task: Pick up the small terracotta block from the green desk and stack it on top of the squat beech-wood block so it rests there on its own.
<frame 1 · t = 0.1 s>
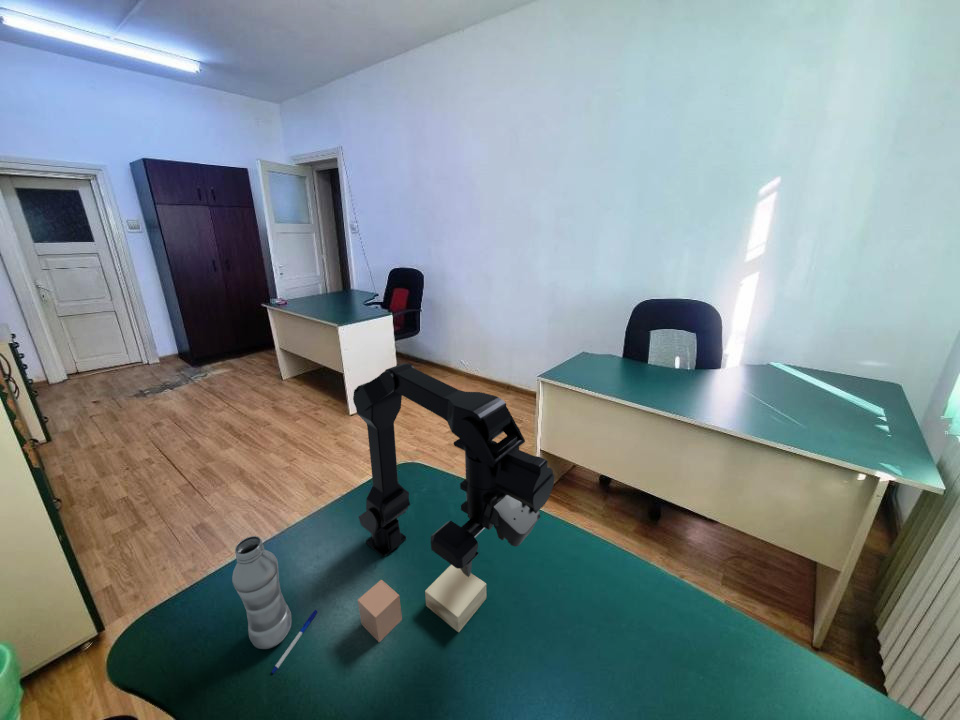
hand: (485, 555, 62), 15 cm above the table, tool pointing down, fingers open, 9 cm apart
plastic bottle: (273, 635, 64), on the table
ballpoint pen: (296, 641, 64), on the table
beech block: (456, 603, 70), on the table
terracotta block: (382, 622, 66), on the table
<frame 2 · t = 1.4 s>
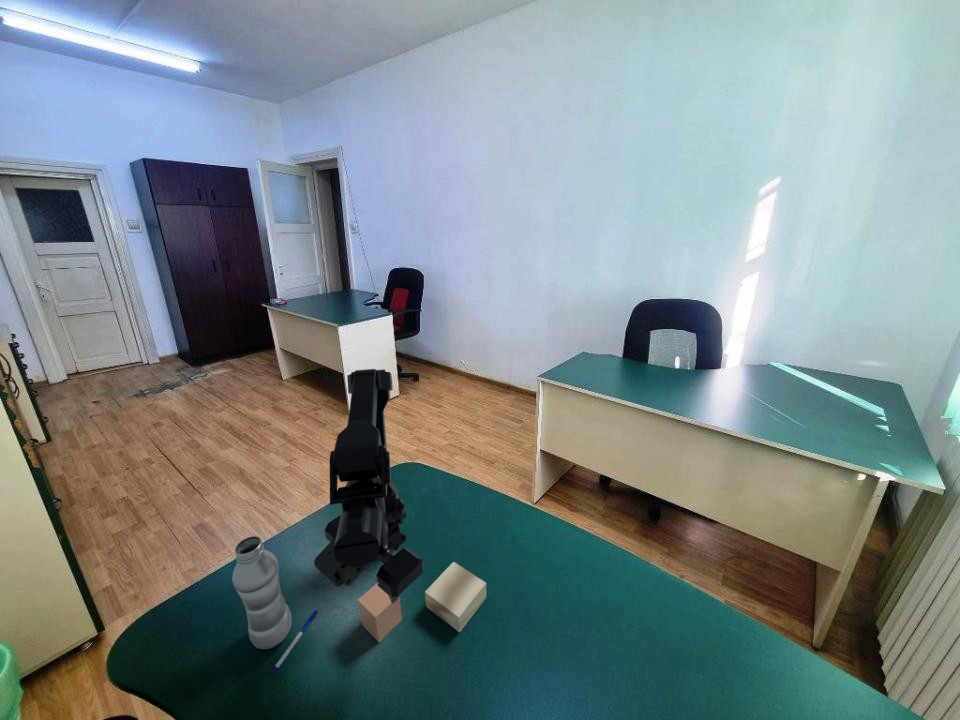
hand: (377, 585, 64), 9 cm above the table, tool pointing down, fingers open, 9 cm apart
nothing on the table moved.
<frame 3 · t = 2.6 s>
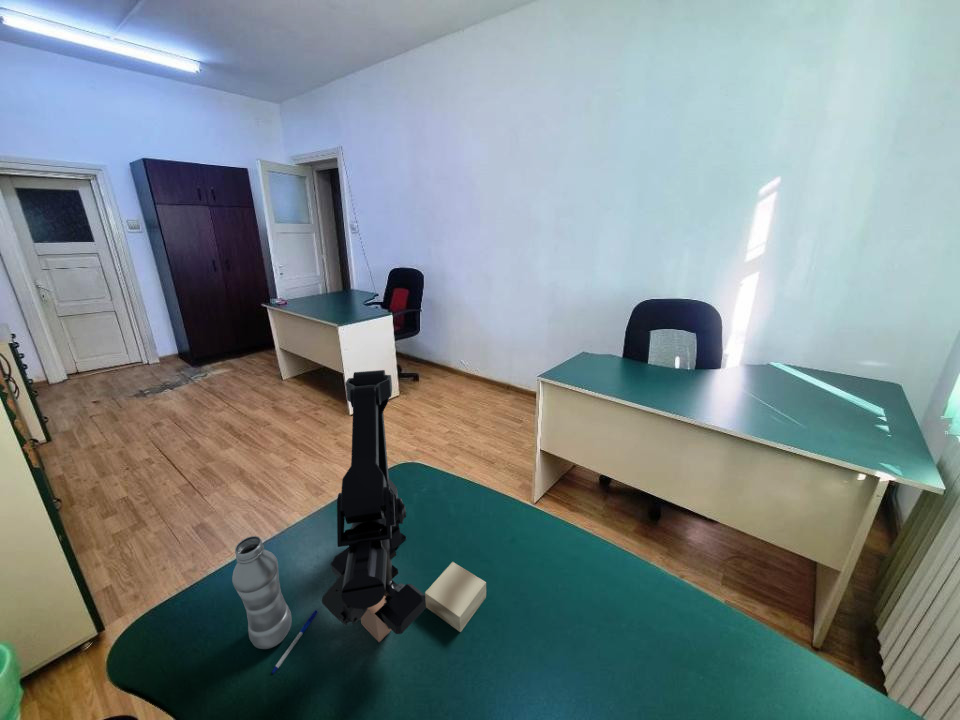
hand: (381, 617, 66), 1 cm above the table, tool pointing down, fingers closed on terracotta block, 5 cm apart
terracotta block: (381, 621, 66), on the table, touching gripper
everything else where it was.
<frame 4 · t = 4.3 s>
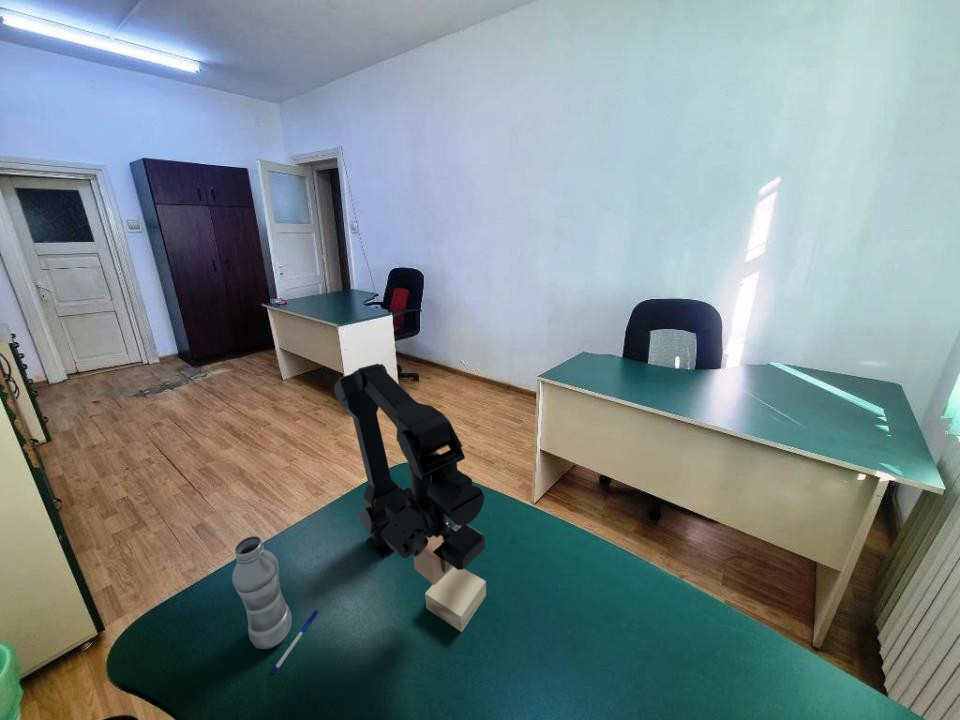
hand: (435, 562, 65), 11 cm above the table, tool pointing down, fingers closed on terracotta block, 5 cm apart
terracotta block: (434, 567, 65), point 10 cm above the table, touching gripper
everything else where it was.
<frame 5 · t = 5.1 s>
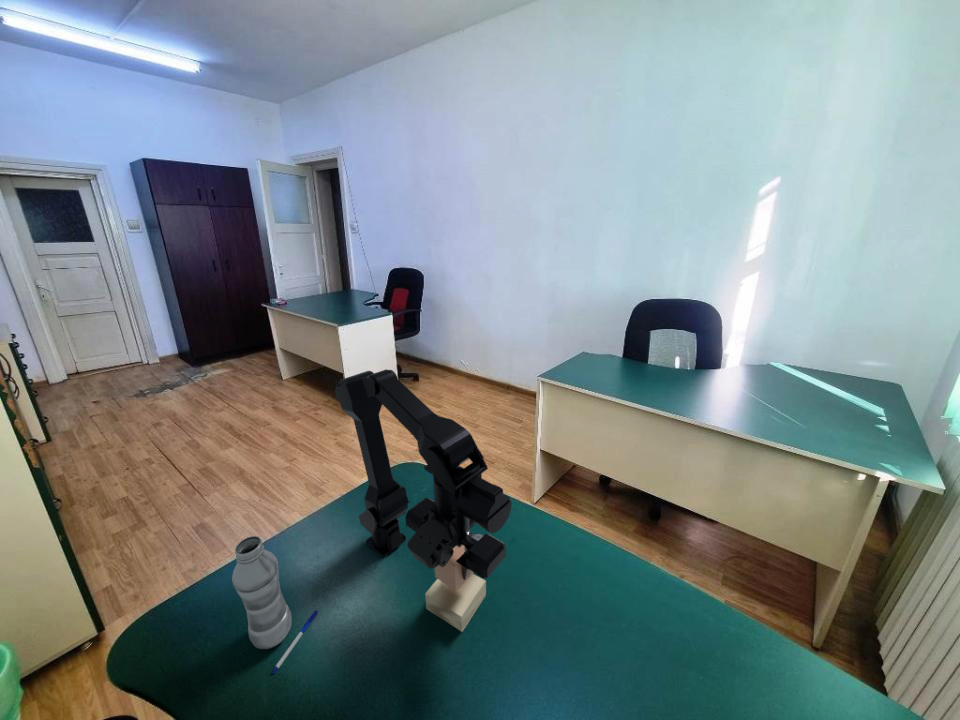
hand: (454, 569, 67), 8 cm above the table, tool pointing down, fingers closed on terracotta block, 5 cm apart
terracotta block: (454, 574, 67), point 7 cm above the table, touching gripper
everything else where it was.
when the fingers open (6 cm above the table, at t = 5.8 s): terracotta block drops 2 cm, resting on beech block.
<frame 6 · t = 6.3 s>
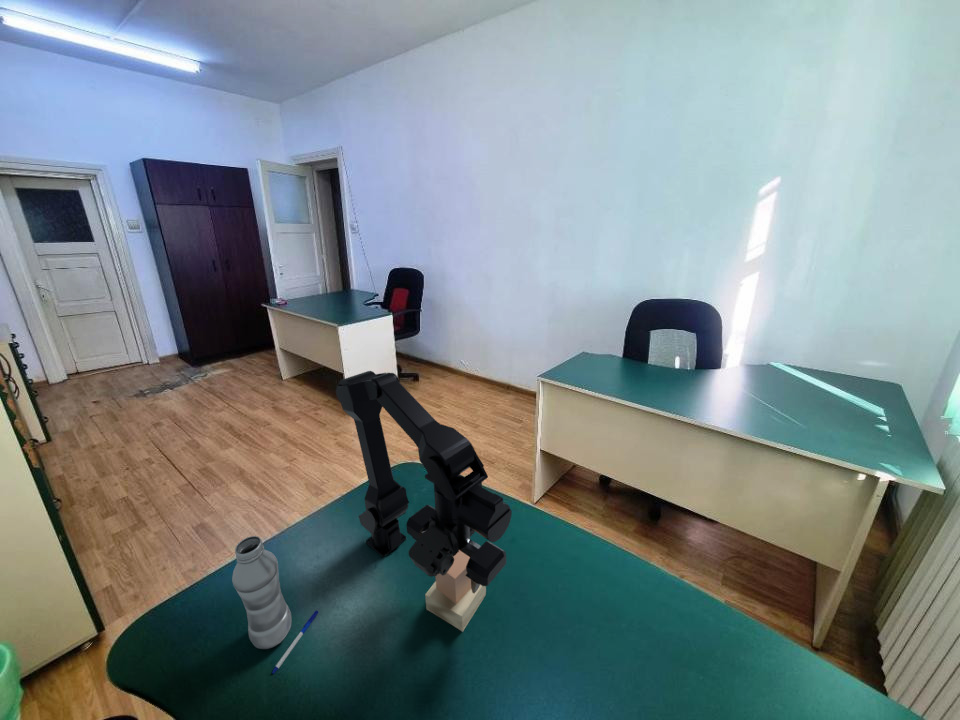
hand: (455, 576, 68), 6 cm above the table, tool pointing down, fingers open, 9 cm apart
beech block: (456, 603, 70), on the table, touching terracotta block
terracotta block: (455, 586, 69), point 4 cm above the table, touching beech block
everything else where it was.
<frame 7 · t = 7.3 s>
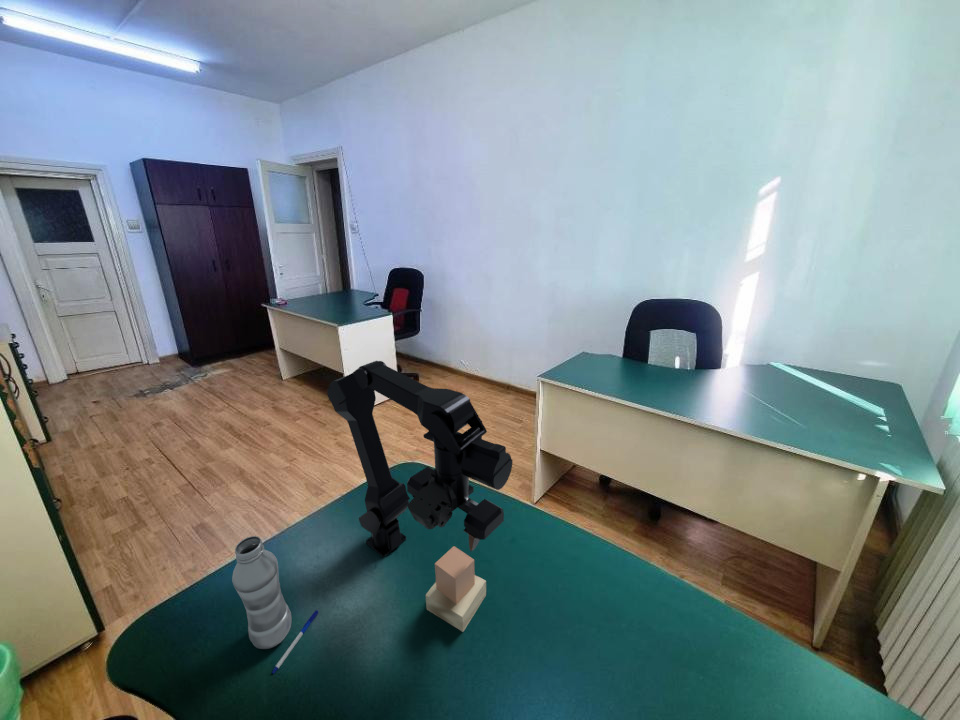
hand: (454, 536, 69), 12 cm above the table, tool pointing down, fingers open, 9 cm apart
beech block: (457, 603, 70), on the table
terracotta block: (455, 586, 69), point 4 cm above the table
everything else where it was.
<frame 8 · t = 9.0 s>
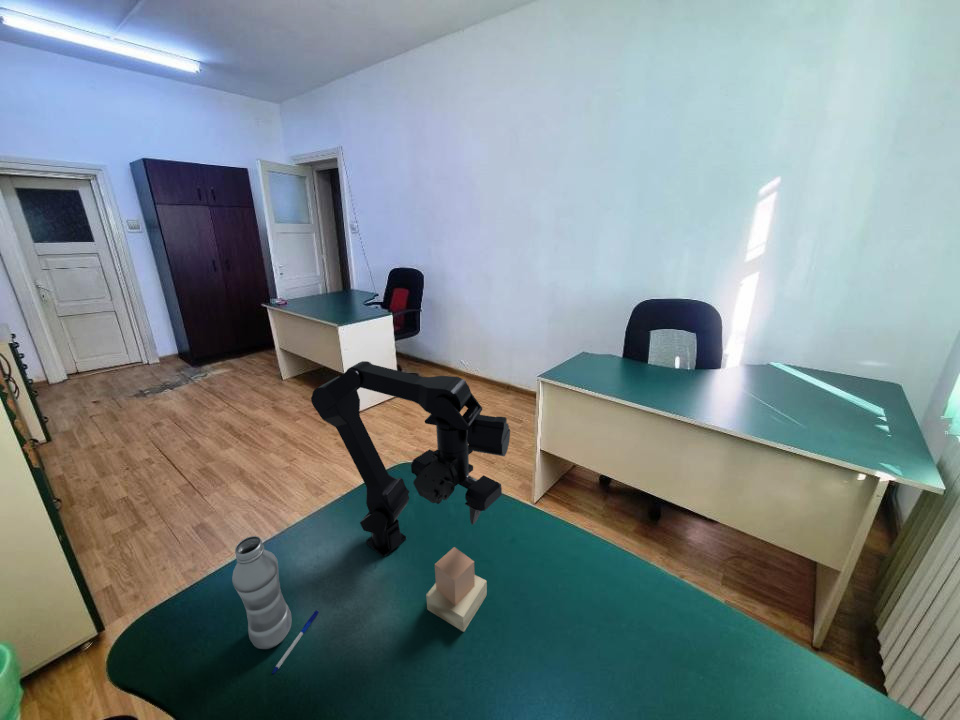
hand: (455, 512, 74), 13 cm above the table, tool pointing down, fingers open, 9 cm apart
beech block: (457, 603, 70), on the table, touching terracotta block
terracotta block: (455, 587, 68), point 4 cm above the table, touching beech block
everything else where it was.
at the end: terracotta block 0.2 cm off-centre on the beech block, point 4.0 cm above the beech block's base; terracotta block touching beech block; the gripper is holding nothing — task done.
